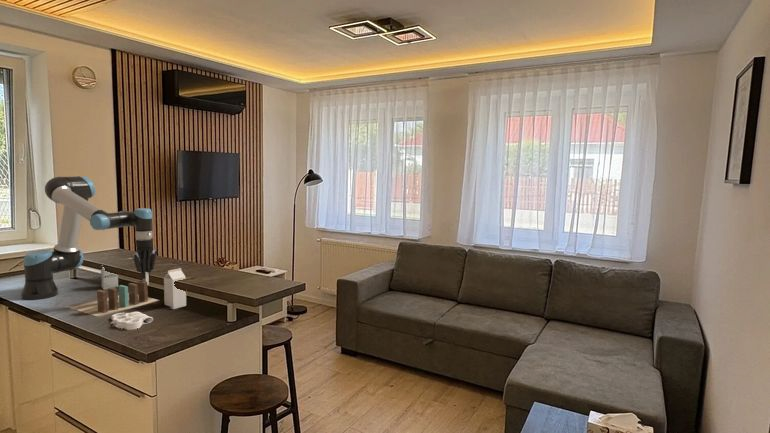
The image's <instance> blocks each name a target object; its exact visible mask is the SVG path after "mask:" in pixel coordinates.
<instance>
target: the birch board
mask: <svg viewBox="0 0 770 433" xmlns="http://www.w3.org/2000/svg"><path fill="white" fill-rule="evenodd" d="M128 301H129V292H128ZM159 301H160V299H156V298H152V297H149V296H148V301H147V302H143V301H139V294H138V304H136V305H135V304H131V303H129V307H122V306H119V294H118V309H117V310H113V309H109V301H108V297H107V306H108V312H106V313H102V312H99V311H98V301H97V299H96V300H92V301H88V302H84V303H81V304H76V305H72V306H71V305H70V306H68V307H67V308H68V309H71V310H74V311H78V312H81V313H84V314H88V315H91V316H95V317H97V318H102V317H105V316H108V315H113V314H117V313H121V312H123V311H126V310H130V309H133V308H138V307H141V306H145V305H148V304H152V303H156V302H159Z"/></svg>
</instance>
